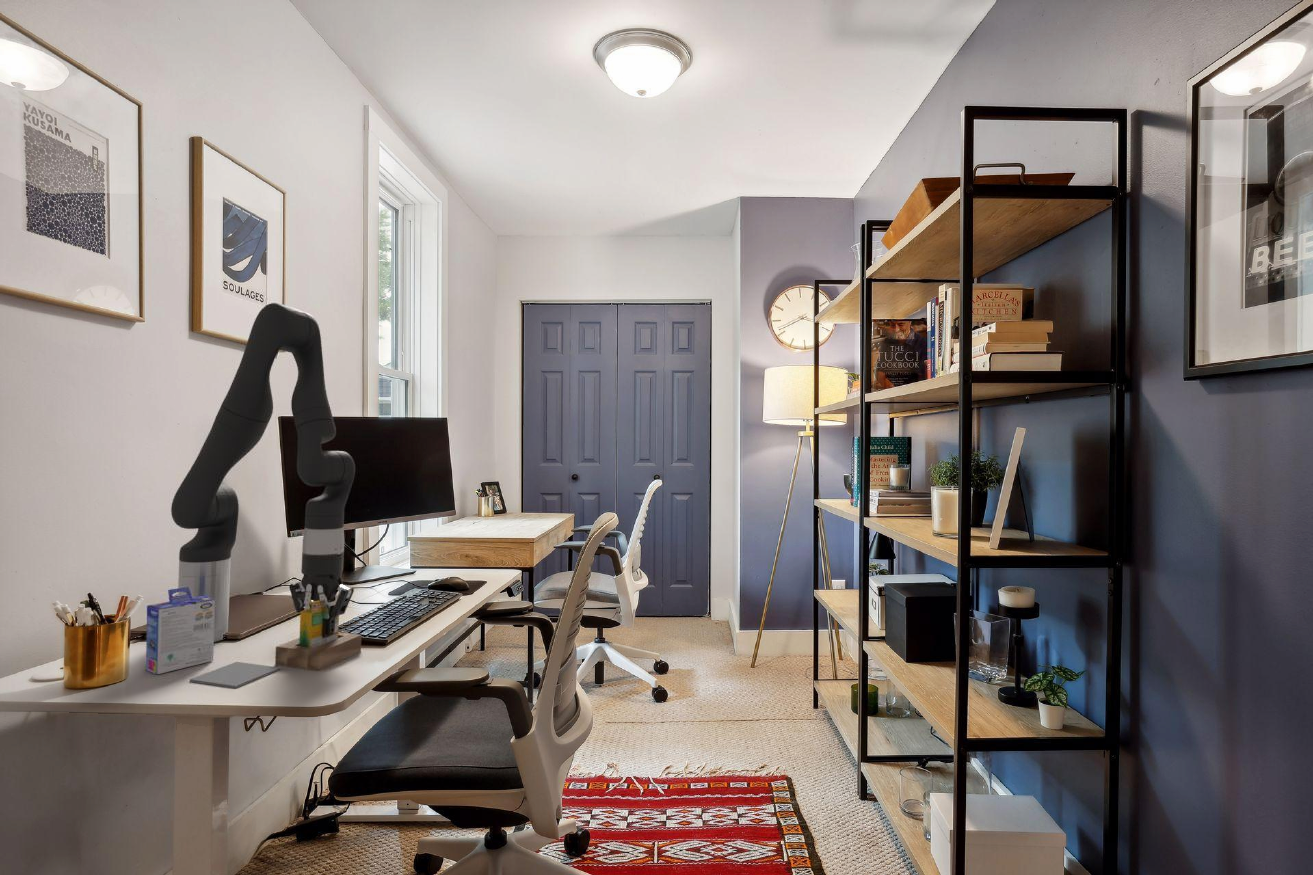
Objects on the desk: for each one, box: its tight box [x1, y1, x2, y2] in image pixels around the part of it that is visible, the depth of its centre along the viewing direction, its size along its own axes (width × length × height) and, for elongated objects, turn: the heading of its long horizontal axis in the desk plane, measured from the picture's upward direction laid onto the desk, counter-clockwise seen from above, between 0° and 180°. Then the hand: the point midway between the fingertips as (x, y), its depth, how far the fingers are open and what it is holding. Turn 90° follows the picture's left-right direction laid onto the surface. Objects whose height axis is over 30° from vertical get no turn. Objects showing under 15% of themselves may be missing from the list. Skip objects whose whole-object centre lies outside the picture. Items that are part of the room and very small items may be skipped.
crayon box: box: [299, 596, 340, 648], centre depth 134 cm, size 7×3×12 cm, turn 160°
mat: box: [189, 661, 281, 689], centre depth 123 cm, size 10×10×1 cm
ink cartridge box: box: [145, 587, 215, 675], centre depth 127 cm, size 10×6×14 cm, turn 149°
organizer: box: [274, 631, 362, 671], centre depth 134 cm, size 10×12×4 cm
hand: (319, 634), depth 134 cm, fingers closed on crayon box, 3 cm apart
